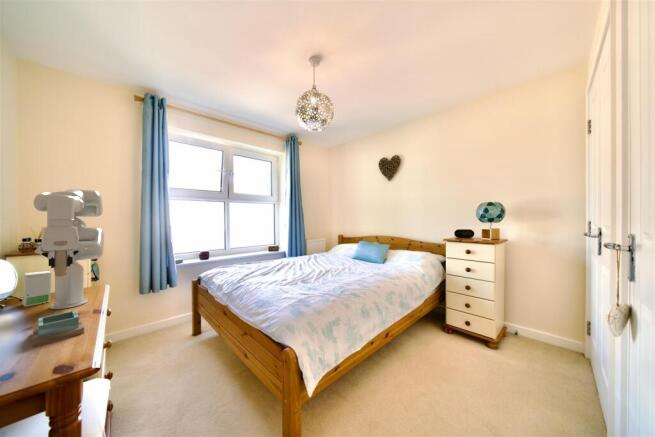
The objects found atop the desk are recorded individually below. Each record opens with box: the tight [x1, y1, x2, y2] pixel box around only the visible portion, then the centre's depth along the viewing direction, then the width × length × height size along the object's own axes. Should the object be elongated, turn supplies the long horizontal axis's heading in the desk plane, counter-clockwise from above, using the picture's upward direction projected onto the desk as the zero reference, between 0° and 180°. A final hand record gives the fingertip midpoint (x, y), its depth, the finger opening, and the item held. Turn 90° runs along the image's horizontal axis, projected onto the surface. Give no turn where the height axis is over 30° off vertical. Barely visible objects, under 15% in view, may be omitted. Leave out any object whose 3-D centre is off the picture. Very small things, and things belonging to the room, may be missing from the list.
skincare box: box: [22, 270, 52, 308], centre depth 115 cm, size 8×7×16 cm
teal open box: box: [32, 309, 85, 348], centre depth 86 cm, size 14×12×6 cm
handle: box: [53, 241, 68, 277], centre depth 96 cm, size 5×6×15 cm
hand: (60, 266), depth 96 cm, fingers closed on handle, 3 cm apart
